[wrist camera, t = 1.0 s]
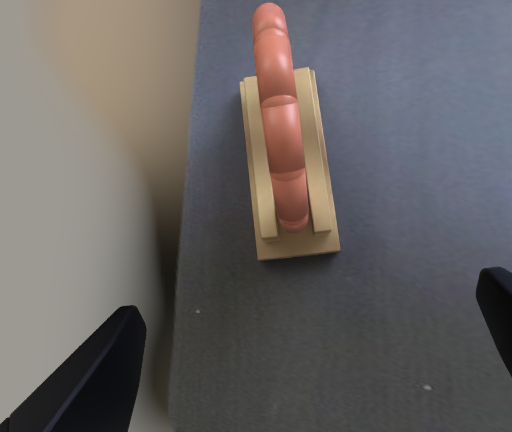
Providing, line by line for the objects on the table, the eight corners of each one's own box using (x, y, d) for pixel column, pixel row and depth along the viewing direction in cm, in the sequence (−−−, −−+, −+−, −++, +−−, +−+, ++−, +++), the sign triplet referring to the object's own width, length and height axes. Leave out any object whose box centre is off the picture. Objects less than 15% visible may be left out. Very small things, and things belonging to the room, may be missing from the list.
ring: (308, 240, 22) (312, 203, 12) (285, 243, 22) (270, 208, 12) (288, 84, 24) (276, -60, 14) (267, 88, 24) (241, -53, 14)
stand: (339, 252, 23) (344, 247, 20) (259, 261, 23) (253, 257, 20) (313, 77, 25) (314, 50, 22) (241, 89, 26) (233, 64, 23)
